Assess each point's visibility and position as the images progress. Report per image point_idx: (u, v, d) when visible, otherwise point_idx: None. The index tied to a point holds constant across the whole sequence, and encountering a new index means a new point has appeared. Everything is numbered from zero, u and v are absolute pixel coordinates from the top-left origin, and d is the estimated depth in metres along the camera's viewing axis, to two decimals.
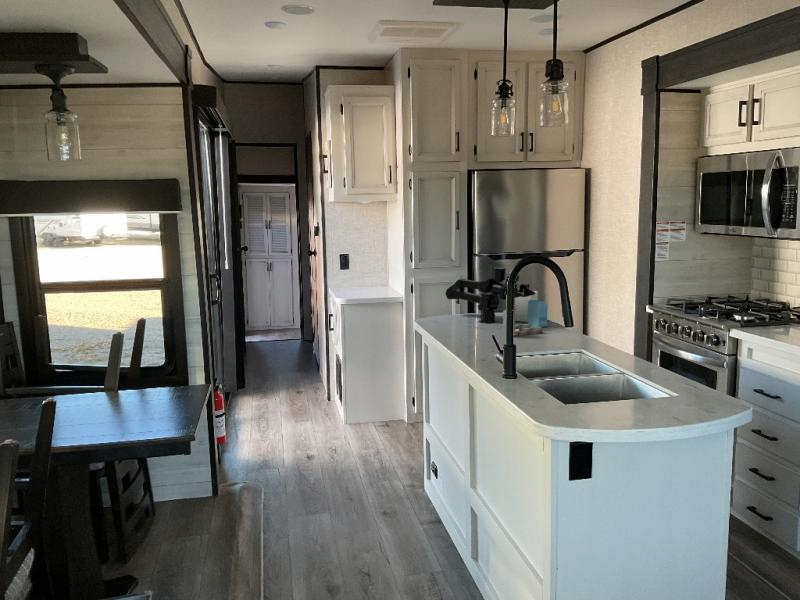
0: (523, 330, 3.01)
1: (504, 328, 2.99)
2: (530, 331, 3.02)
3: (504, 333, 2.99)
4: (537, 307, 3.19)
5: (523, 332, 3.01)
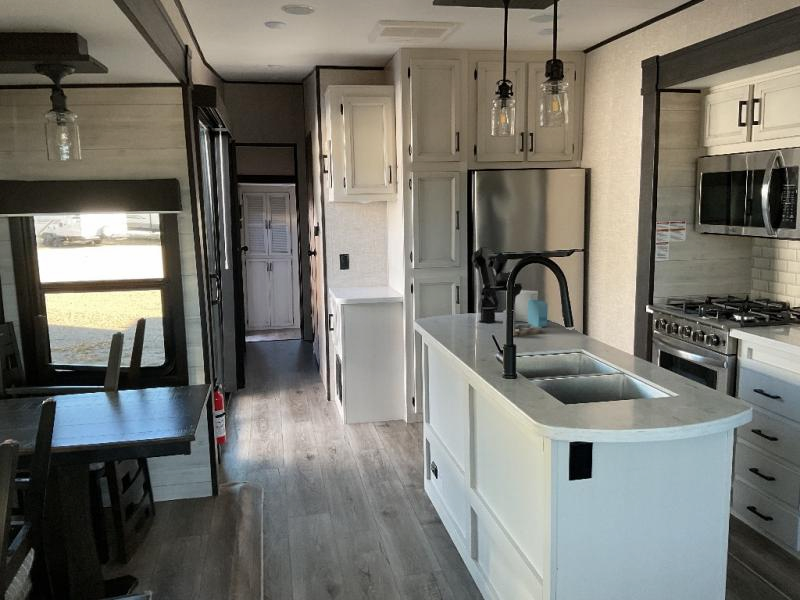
0: (523, 330, 3.01)
1: (504, 328, 2.99)
2: (530, 331, 3.02)
3: (504, 333, 2.99)
4: (537, 307, 3.19)
5: (523, 332, 3.01)
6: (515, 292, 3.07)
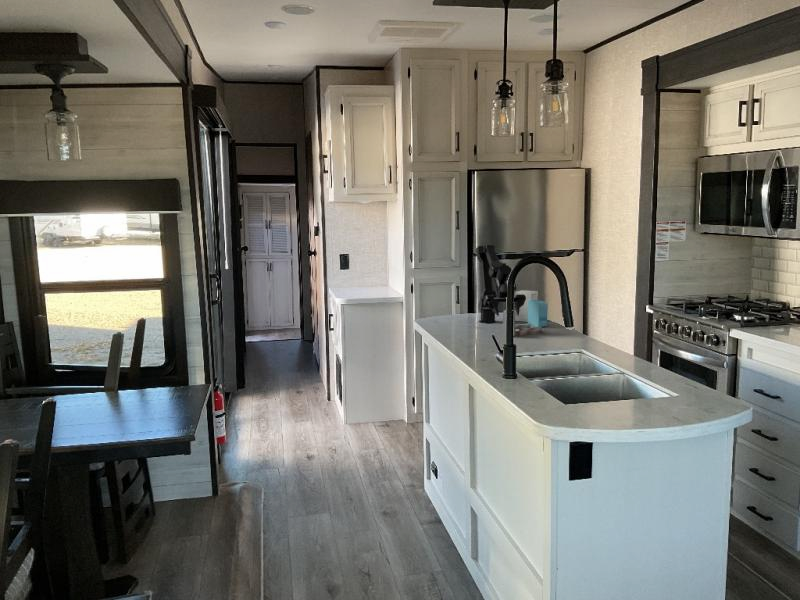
0: (523, 330, 3.01)
1: (504, 328, 2.99)
2: (530, 331, 3.02)
3: (504, 333, 2.99)
4: (537, 307, 3.19)
5: (523, 332, 3.01)
6: (519, 303, 3.02)
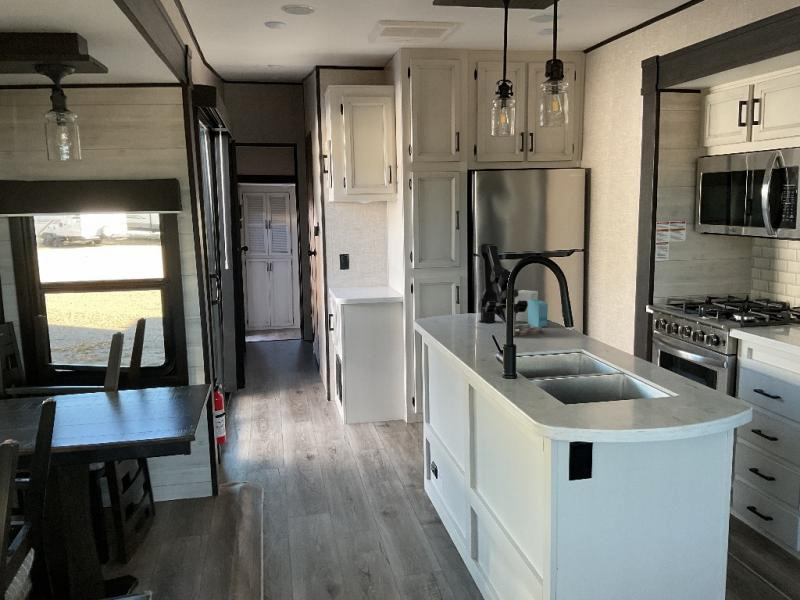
0: (523, 330, 3.01)
1: (504, 328, 2.99)
2: (530, 331, 3.02)
3: (504, 333, 2.99)
4: (537, 307, 3.19)
5: (523, 332, 3.01)
6: (516, 310, 2.99)
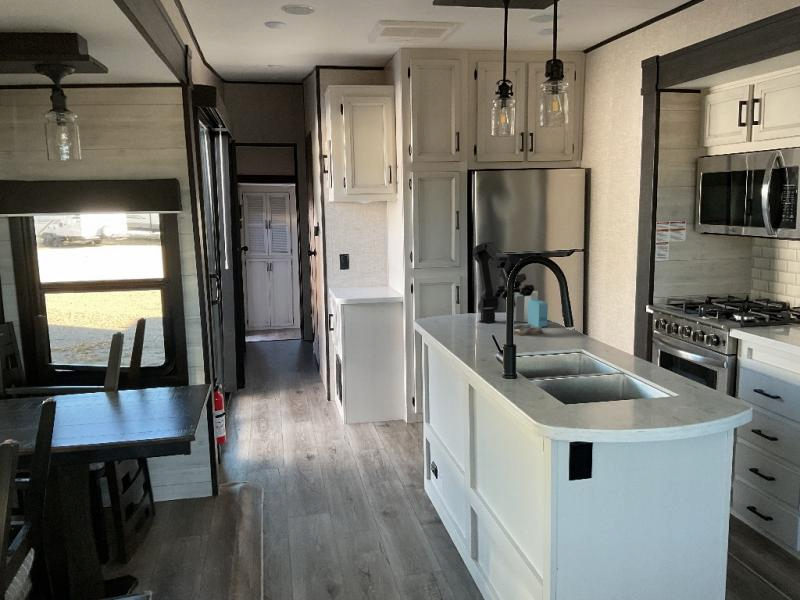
0: (523, 330, 3.01)
1: None
2: (530, 331, 3.02)
3: None
4: (537, 307, 3.19)
5: (523, 332, 3.01)
6: (523, 294, 3.02)
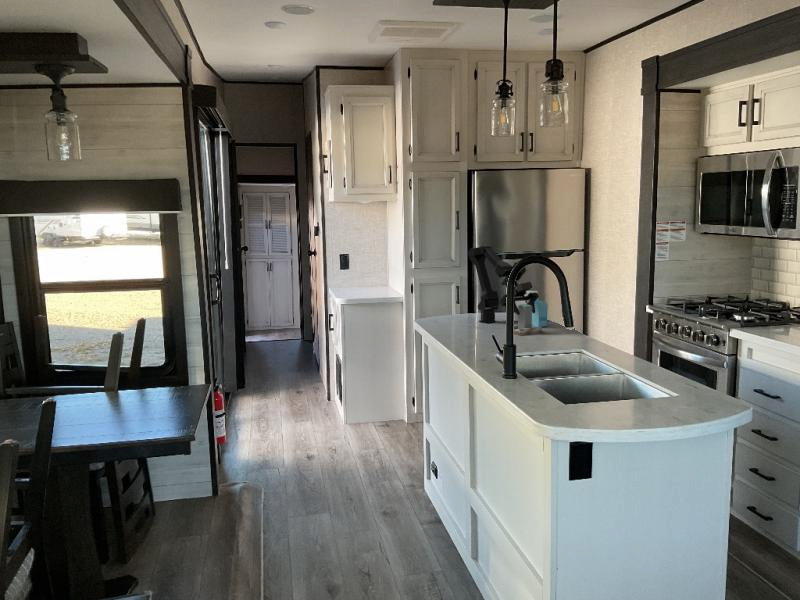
0: (523, 330, 3.01)
1: (521, 322, 3.06)
2: (530, 331, 3.02)
3: (521, 327, 3.06)
4: (537, 307, 3.19)
5: (523, 332, 3.01)
6: (533, 301, 3.09)
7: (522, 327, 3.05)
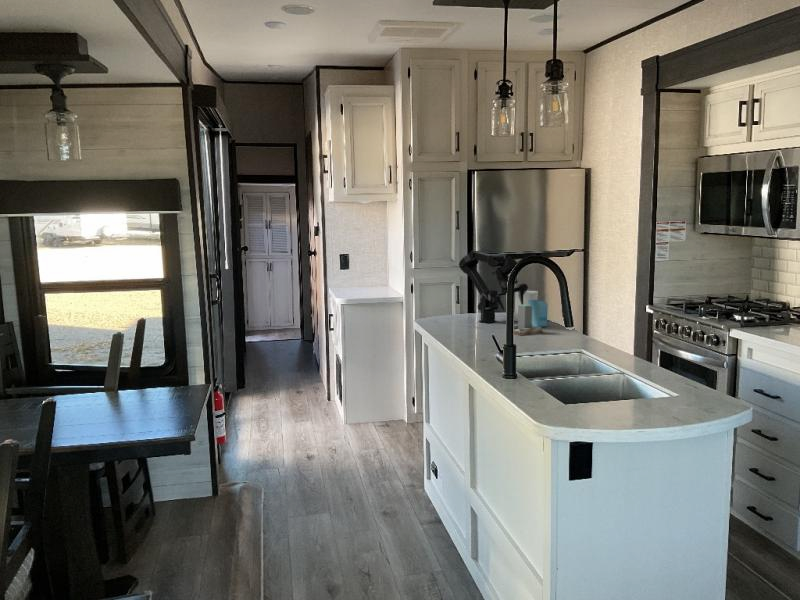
0: (523, 330, 3.01)
1: (521, 322, 3.06)
2: (530, 331, 3.02)
3: (521, 327, 3.06)
4: (537, 307, 3.19)
5: (523, 332, 3.01)
6: (522, 294, 3.15)
7: (522, 327, 3.05)
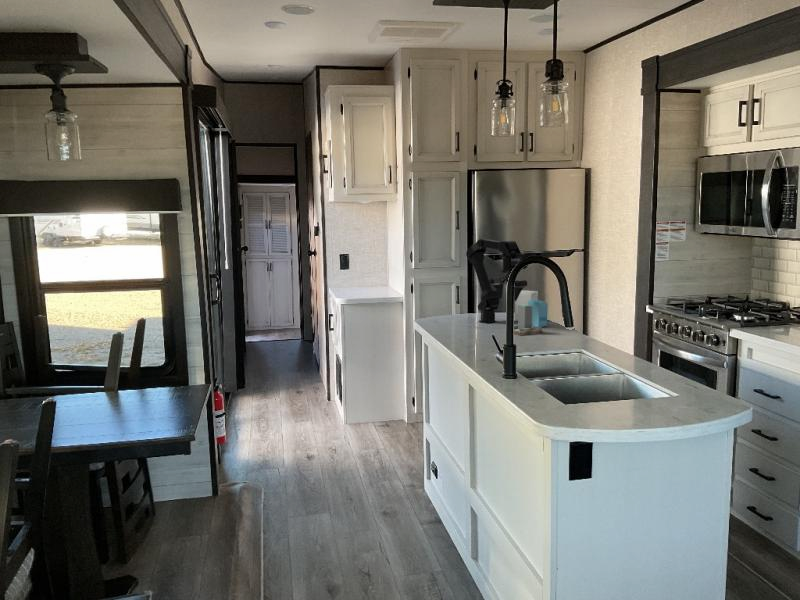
0: (523, 330, 3.01)
1: (521, 322, 3.06)
2: (530, 331, 3.02)
3: (521, 327, 3.06)
4: (537, 307, 3.19)
5: (523, 332, 3.01)
6: (515, 290, 3.14)
7: (522, 327, 3.05)
